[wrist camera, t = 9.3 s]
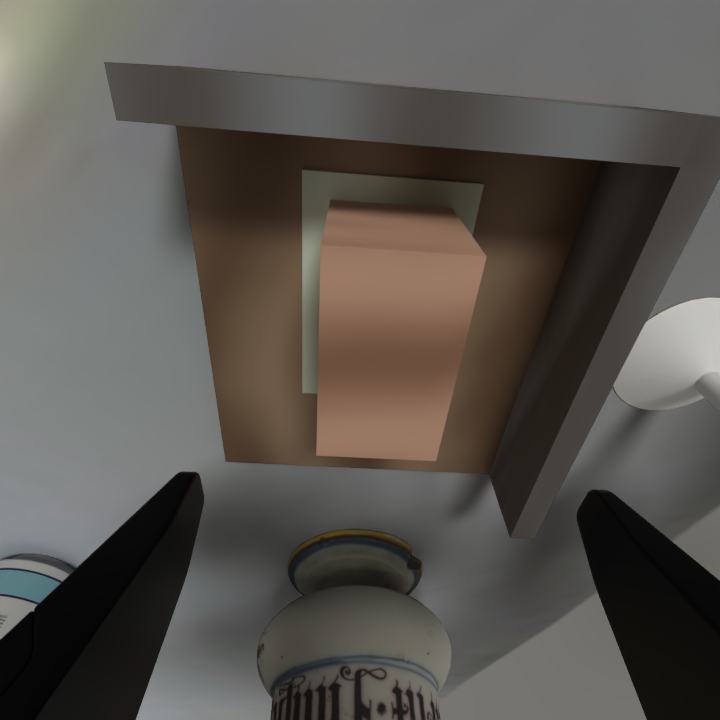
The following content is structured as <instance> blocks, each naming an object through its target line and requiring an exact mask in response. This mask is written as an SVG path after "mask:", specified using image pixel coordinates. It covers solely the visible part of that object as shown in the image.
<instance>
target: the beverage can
mask: <svg viewBox="0 0 720 720" xmlns="http://www.w3.org/2000/svg"><path fill="white" fill-rule="evenodd" d="M73 571H74V569H73V568H72V567H70V566H69V565H67V564H66V563H64V562H62V561H60V560H58V559H55V558H52V557H49V556H44V555H38V554H22V555H18V556H15V557H13V558H10V559H4V560H0V639H1V638H2V637H3V636H5V635H6V634H7V633H8V632H9V631H10V630H11V629H12V628H13V627H14V626H15V625H16V624H18V623H19V622H20V621H21V620H22V619H23V618H24V617H25V616H26V615H27V614H28V613H29V612H31V611H34V608H35V607H36V606H37V605H38V604H39V603H40V602H41V601H42V600H43V599H44V598H45V597H46V596H48V595H49V594H50V593H51V592H52V591H53V590H54V589H55V588H56V587H57V586H58V585H59V584H60V583H61V582H62V581H63V580H65V579H66V578H67V577H68V576H69V575H70V574H71V573H72V572H73Z"/></svg>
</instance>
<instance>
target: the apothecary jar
mask: <svg viewBox="0 0 720 720" xmlns="http://www.w3.org/2000/svg"><path fill="white" fill-rule="evenodd" d="M411 551H412V548H411V546H409V545H408V544H407V543H405V542H404V541H402V540H400V539H398V538H396V537H394V536H392V535H389V534H385V533H381V532H376V531H370V530H355V529H350V530H339V531H333V532H329V533H325V534H322V535H319V536H316V537H314V538H312V539H310V540H308V541H307V542H305V543H304V544H302V545H301V546H300V547H299V548H298V549H296V550H295V552H294V553H293V554H292V556H291V558H290V560H289V564H288V575H289V578H290V580H291V582H292V584H293V585H294V587H295V588H296V589H297V590H298V591H299V592H300V593H301V594H302V595H303V596H302V597H300V598H298V599H296V600H295V601H293V602H291V603H290V604H288V605H287V606H286V607H285V608H283V609H282V610H281V611H280V612H279V613H278V614H277V615H276V616H275V617H274V618H273V619H272V620H271V622H270V623H269V624H268V626H267V627H266V628H265V630H264V632H263V634H262V636H261V638H260V641H259V645H258V651H257V665H258V671H259V675H260V678H261V681H262V683H263V685H264V687H265V689H266V690H267V692H268V693H269V695H270V696H271V698H272V710H271V720H440V715H439V704H438V692H439V691H440V689H441V688H442V686H443V685H444V683H445V681H446V678H447V676H448V673H449V670H450V666H451V644H450V640H449V637H448V635H447V632H446V630H445V628H444V627H443V625H442V623H441V622H440V621H439V619H438V618H437V617H436V616H435V615H434V614H433V613H432V612H431V611H430V610H429V609H428V608H427V607H425V606H424V605H423V604H422V603H420V602H419V601H417V600H415V599H414V598H412V597H410V596H408V595H409V594H410V593H411V592H412V591H413V590H414V589H415V588H416V586H417V585H418V583H419V581H420V579H421V576H422V569H423V567H422V562H421V561H420V560H418V559H416V558H415V557H413V556H412V555H411Z"/></svg>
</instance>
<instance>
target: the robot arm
mask: <svg viewBox="0 0 720 720" xmlns="http://www.w3.org/2000/svg"><path fill="white" fill-rule="evenodd" d="M203 504H204V494H203V489H202V484H201V479H200V475H199V474H198V473H197V472H179V473H178V474H176V475H175V476H174V477H173V478H172V479H171V480H170V481H169V482H168V483H167V484H166V485H165V486H163V487H162V488H161V489H160V490H159V491H158V492H157V493H156V494H155V495H154V496H153V497H152V498H151V499H150V500H149V501H148V502H146V503H145V504H144V505H143V506H142V507H141V508H140V509H139V510H138V511H137V512H136V513H135V514H134V515H133V516H132V517H130V518H129V519H128V520H127V521H126V522H125V523H124V524H123V525H122V526H121V527H120V528H119V529H118V530H117V531H116V532H115V533H113V534H112V535H111V536H110V537H109V538H108V539H107V540H106V541H105V542H104V543H103V544H102V545H101V546H100V547H99V548H98V549H96V550H95V551H94V552H93V553H92V554H91V555H90V556H89V557H88V558H87V559H86V560H85V561H84V562H83V563H82V564H80V565H79V566H78V567H77V568H76V569H75V570H74V571H73V572H72V573H71V574H70V575H69V576H68V577H67V578H66V579H65V580H63V581H62V582H61V583H60V584H59V585H58V586H57V587H56V588H55V589H54V590H53V591H52V592H51V593H50V594H49V595H48V596H46V597H45V598H44V599H43V600H42V601H41V602H40V603H39V604H38V605H37V606H36V607H35V608H34V611H31V612H29V613H28V614H27V615H26V616H25V617H24V618H23V619H22V620H21V621H20V622H19V623H18V624H16V625H15V626H14V627H13V628H12V629H11V630H10V631H9V632H8V633H7V634H6V635H5V636H3V637H2V638H1V639H0V720H136V717H137V714H138V711H139V708H140V706H141V703H142V700H143V697H144V694H145V692H146V689H147V686H148V683H149V680H150V677H151V675H152V672H153V669H154V666H155V663H156V661H157V658H158V655H159V652H160V649H161V646H162V644H163V641H164V638H165V635H166V632H167V629H168V627H169V624H170V621H171V618H172V615H173V613H174V610H175V607H176V604H177V601H178V598H179V596H180V593H181V590H182V587H183V584H184V581H185V578H186V575H187V572H188V568H189V564H190V560H191V556H192V551H193V547H194V543H195V539H196V535H197V530H198V526H199V522H200V518H201V513H202V509H203ZM577 522H578V526H579V529H580V533H581V537H582V540H583V544H584V547H585V551H586V555H587V558H588V562H589V566H590V569H591V573H592V576H593V579H594V583H595V586H596V589H597V591H598V594H599V597H600V599H601V602H602V605H603V607H604V610H605V613H606V615H607V618H608V620H609V623H610V625H611V628H612V631H613V633H614V636H615V638H616V641H617V644H618V646H619V649H620V651H621V654H622V656H623V659H624V662H625V664H626V667H627V669H628V672H629V675H630V677H631V680H632V682H633V685H634V687H635V690H636V693H637V695H638V698H639V700H640V703H641V705H642V708H643V711H644V713H645V716H646V718H647V720H720V581H719V580H718V579H717V578H716V577H715V576H713V575H712V574H711V573H710V572H708V571H707V570H706V569H705V568H704V567H702V566H701V565H700V564H699V563H698V562H696V561H695V560H694V559H693V558H691V557H690V556H689V555H688V554H687V553H685V552H684V551H683V550H682V549H680V548H679V547H678V546H677V545H676V544H674V543H673V542H672V541H671V540H669V539H668V538H667V537H666V536H665V535H663V534H662V533H661V532H660V531H658V530H657V529H656V528H655V527H654V526H652V525H651V524H650V523H649V522H648V521H646V520H645V519H644V518H643V517H641V516H640V515H639V514H638V513H637V512H635V511H634V510H633V509H632V508H630V507H629V506H628V505H627V504H626V503H624V502H623V501H622V500H621V499H619V498H618V497H617V496H616V495H615V494H613V493H612V492H610V491H608V490H591V491H589V492H588V493H587V495H586V497H585V499H584V500H583V502H582V504H581V506H580V507H579V509H578V511H577Z"/></svg>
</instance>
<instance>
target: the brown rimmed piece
mask: <svg viewBox="0 0 720 720" xmlns="http://www.w3.org/2000/svg"><path fill="white" fill-rule="evenodd" d="M104 64H105V69H106V73H107V78H108V83H109V87H110V92H111V97H112V101H113V106H114V110H115V115H116V120H120V121H132V122H144V123H156V124H168V125H176V128H177V135H178V142H179V149H180V155H181V162H182V169H183V176H184V182H185V189H186V196H187V203H188V210H189V216H190V223H191V230H192V237H193V243H194V250H195V257H196V264H197V271H198V277H199V284H200V291H201V298H202V304H203V311H204V318H205V325H206V331H207V338H208V345H209V352H210V359H211V365H212V372H213V379H214V386H215V392H216V399H217V406H218V413H219V419H220V426H221V433H222V440H223V447H224V453H225V460H226V462H244V463H265V464H287V465H308V466H329V467H350V468H372V469H393V470H414V471H435V472H457V473H478V474H489V476H490V479H491V482H492V485H493V488H494V491H495V494H496V497H497V500H498V503H499V506H500V509H501V512H502V515H503V518H504V521H505V524H506V527H507V530H508V533H509V536H510V538H525V539H534V538H535V536H536V534H537V532H538V530H539V528H540V526H541V524H542V523H543V521H544V519H545V517H546V515H547V513H548V511H549V509H550V507H551V505H552V503H553V501H554V499H555V497H556V495H557V493H558V491H559V490H560V488H561V486H562V484H563V482H564V480H565V478H566V476H567V474H568V472H569V470H570V468H571V466H572V464H573V462H574V460H575V458H576V457H577V455H578V453H579V451H580V449H581V447H582V445H583V443H584V441H585V439H586V437H587V435H588V433H589V431H590V429H591V427H592V425H593V424H594V422H595V420H596V418H597V416H598V414H599V412H600V410H601V408H602V406H603V404H604V402H605V400H606V398H607V396H608V394H609V392H610V391H611V389H612V387H613V385H614V383H615V381H616V379H617V377H618V375H619V373H620V371H621V369H622V367H623V365H624V363H625V361H626V359H627V358H628V356H629V354H630V352H631V350H632V348H633V346H634V344H635V342H636V340H637V338H638V336H639V334H640V332H641V330H642V328H643V326H644V325H645V323H646V321H647V319H648V317H649V315H650V313H651V311H652V309H653V307H654V305H655V303H656V301H657V299H658V297H659V295H660V293H661V292H662V290H663V288H664V286H665V284H666V282H667V280H668V278H669V276H670V274H671V272H672V270H673V268H674V266H675V264H676V262H677V260H678V259H679V257H680V255H681V253H682V251H683V249H684V247H685V245H686V243H687V241H688V239H689V237H690V235H691V233H692V231H693V229H694V227H695V226H696V224H697V222H698V220H699V218H700V216H701V214H702V212H703V210H704V208H705V206H706V204H707V202H708V200H709V198H710V196H711V194H712V193H713V191H714V189H715V187H716V185H717V183H718V181H719V179H720V117H719V116H710V115H701V114H692V113H684V112H675V111H666V110H657V109H648V108H639V107H628V106H616V105H605V104H594V103H583V102H572V101H561V100H550V99H538V98H527V97H516V96H505V95H494V94H483V93H472V92H460V91H449V90H438V89H427V88H416V87H405V86H394V85H382V84H371V83H360V82H349V81H338V80H327V79H316V78H305V77H293V76H282V75H271V74H260V73H249V72H238V71H227V70H215V69H204V68H193V67H182V66H166V65H147V64H129V63H110V62H104ZM330 199H331V200H344V201H358V202H371V203H385V204H399V205H412V206H426V207H439V208H452V209H453V210H454V212H455V213H456V214H457V216H458V217H459V219H460V220H461V221H462V223H463V224H464V225H465V227H466V228H467V230H468V231H469V232H470V234H471V235H472V237H473V238H474V239H475V241H476V242H477V244H478V245H479V246H480V248H481V249H482V251H483V252H484V253H485V255H486V256H487V258H486V262H485V266H484V270H483V274H482V278H481V282H480V286H479V290H478V294H477V298H476V302H475V306H474V310H473V314H472V318H471V322H470V326H469V330H468V334H467V338H466V342H465V346H464V350H463V354H462V358H461V362H460V366H459V370H458V374H457V378H456V382H455V386H454V391H453V395H452V399H451V403H450V407H449V411H448V415H447V419H446V423H445V427H444V431H443V435H442V439H441V443H440V447H439V451H438V455H437V459H436V461H422V460H400V459H378V458H357V457H335V456H316V446H317V397H318V349H319V300H320V251H321V241H322V236H323V232H324V227H325V222H326V218H327V213H328V208H329V204H330Z"/></svg>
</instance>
